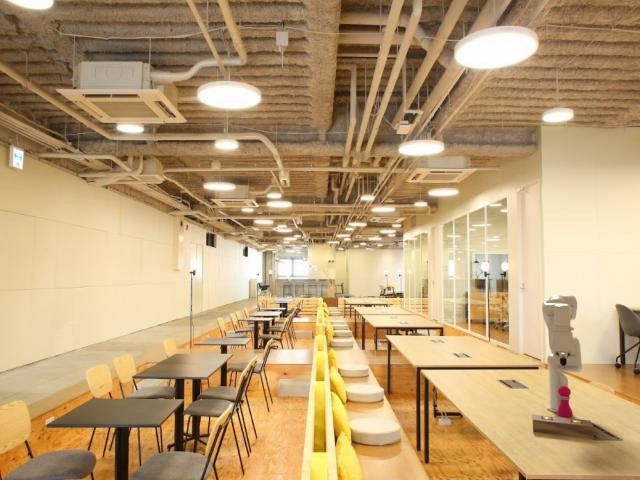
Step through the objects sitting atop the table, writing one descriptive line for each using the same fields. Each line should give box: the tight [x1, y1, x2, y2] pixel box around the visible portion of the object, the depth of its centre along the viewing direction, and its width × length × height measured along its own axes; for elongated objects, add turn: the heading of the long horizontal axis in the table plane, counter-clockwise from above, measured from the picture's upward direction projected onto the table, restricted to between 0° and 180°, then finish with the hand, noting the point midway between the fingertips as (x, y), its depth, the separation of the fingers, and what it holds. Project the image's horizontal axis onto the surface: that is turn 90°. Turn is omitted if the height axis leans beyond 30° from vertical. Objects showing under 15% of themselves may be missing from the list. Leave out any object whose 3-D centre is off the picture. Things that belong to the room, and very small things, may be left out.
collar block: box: [531, 413, 595, 441], centre depth 233 cm, size 10×26×6 cm, turn 68°
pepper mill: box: [556, 383, 574, 419], centre depth 250 cm, size 7×7×20 cm
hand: (563, 365), depth 241 cm, fingers closed
